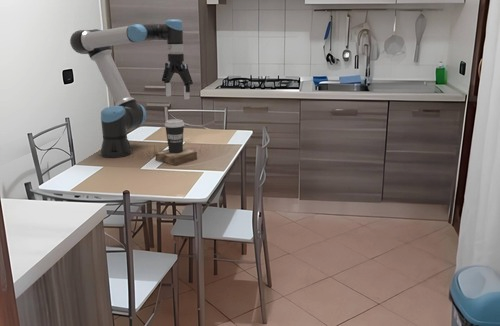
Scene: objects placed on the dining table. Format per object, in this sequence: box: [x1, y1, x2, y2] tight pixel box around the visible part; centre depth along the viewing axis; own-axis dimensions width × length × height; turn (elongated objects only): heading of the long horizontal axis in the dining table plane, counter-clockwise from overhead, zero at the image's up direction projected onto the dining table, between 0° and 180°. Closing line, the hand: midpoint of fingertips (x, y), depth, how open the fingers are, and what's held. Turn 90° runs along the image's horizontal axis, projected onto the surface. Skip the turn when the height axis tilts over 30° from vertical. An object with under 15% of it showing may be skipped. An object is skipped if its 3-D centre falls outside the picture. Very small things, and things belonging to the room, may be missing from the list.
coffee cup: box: [163, 118, 185, 153], centre depth 233 cm, size 10×10×15 cm
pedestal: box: [154, 147, 198, 166], centre depth 236 cm, size 14×14×4 cm
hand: (177, 97), depth 239 cm, fingers open, 13 cm apart
